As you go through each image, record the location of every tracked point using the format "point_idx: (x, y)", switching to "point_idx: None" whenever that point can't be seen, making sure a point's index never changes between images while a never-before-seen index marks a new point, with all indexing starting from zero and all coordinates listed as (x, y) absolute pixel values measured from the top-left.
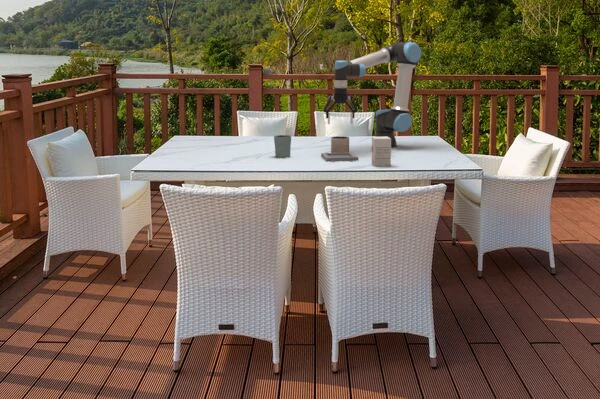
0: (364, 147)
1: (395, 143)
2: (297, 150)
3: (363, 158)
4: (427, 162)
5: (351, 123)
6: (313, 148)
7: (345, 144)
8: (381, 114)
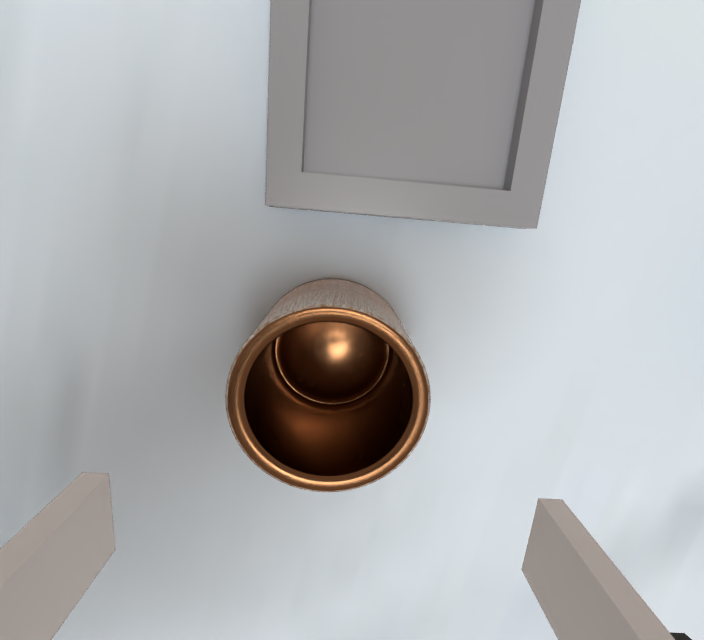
0: None
1: None
2: None
3: (201, 25)
4: None
5: (97, 481)
6: (450, 591)
7: (297, 296)
8: None
